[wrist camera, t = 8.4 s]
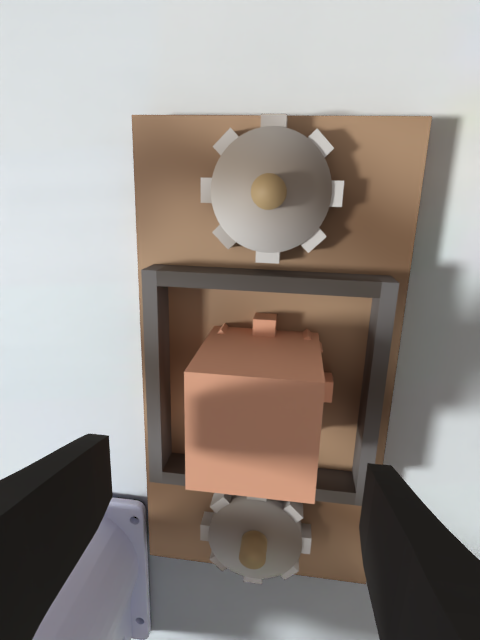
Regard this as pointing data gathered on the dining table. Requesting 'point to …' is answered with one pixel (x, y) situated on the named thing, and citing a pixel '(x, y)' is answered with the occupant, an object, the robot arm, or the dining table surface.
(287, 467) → the tabbed peach cube
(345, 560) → the gear board
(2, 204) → the dining table surface
